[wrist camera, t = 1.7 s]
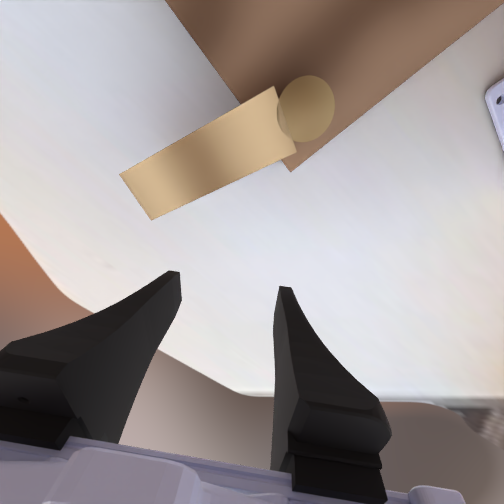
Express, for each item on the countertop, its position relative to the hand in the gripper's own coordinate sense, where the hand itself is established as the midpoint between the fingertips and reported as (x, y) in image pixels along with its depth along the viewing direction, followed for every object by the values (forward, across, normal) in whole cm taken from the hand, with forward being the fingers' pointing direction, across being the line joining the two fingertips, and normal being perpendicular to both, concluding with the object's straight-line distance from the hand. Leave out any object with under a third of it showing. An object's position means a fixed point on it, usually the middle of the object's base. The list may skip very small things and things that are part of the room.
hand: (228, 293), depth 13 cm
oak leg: (+7, +1, -7) cm, 10 cm away
